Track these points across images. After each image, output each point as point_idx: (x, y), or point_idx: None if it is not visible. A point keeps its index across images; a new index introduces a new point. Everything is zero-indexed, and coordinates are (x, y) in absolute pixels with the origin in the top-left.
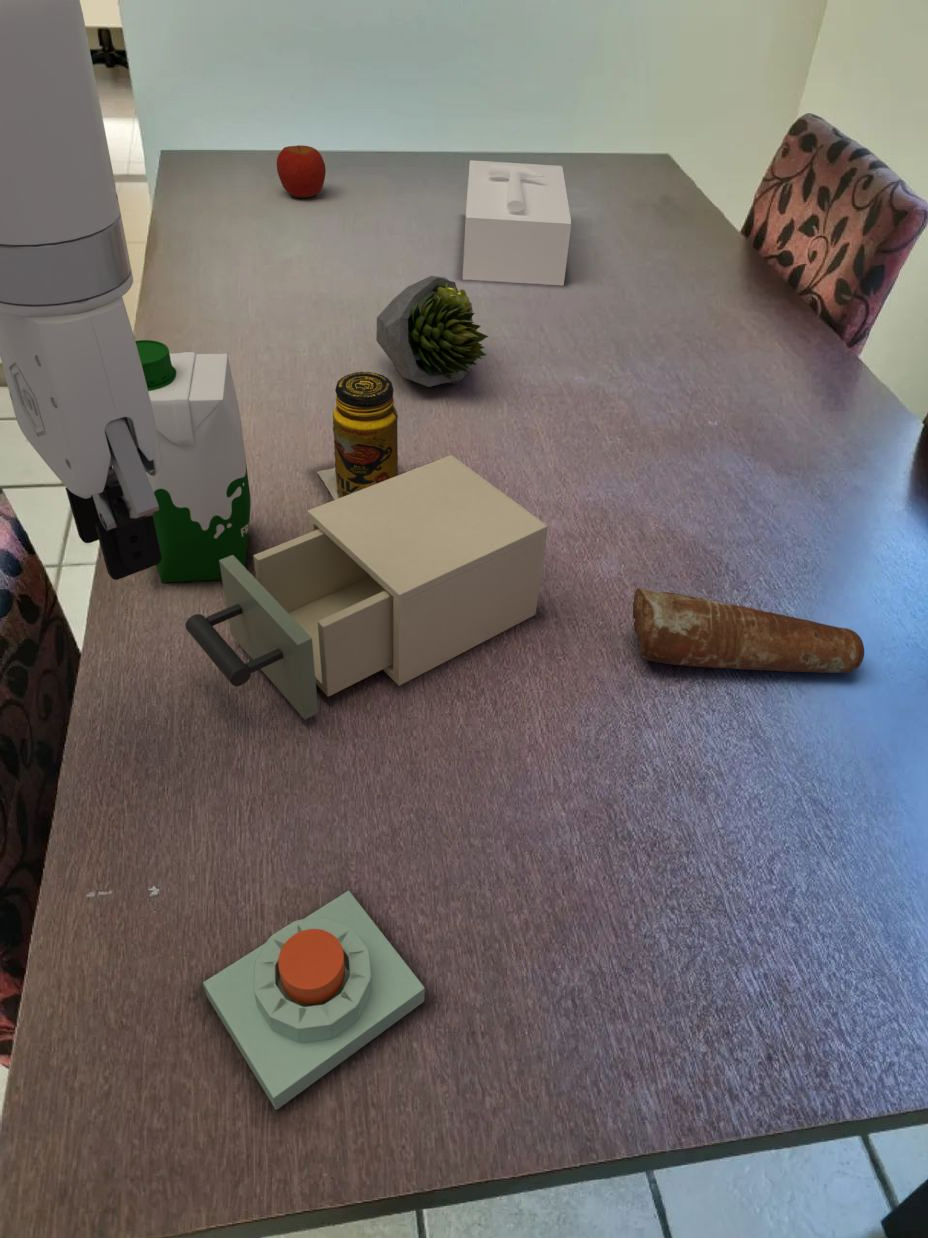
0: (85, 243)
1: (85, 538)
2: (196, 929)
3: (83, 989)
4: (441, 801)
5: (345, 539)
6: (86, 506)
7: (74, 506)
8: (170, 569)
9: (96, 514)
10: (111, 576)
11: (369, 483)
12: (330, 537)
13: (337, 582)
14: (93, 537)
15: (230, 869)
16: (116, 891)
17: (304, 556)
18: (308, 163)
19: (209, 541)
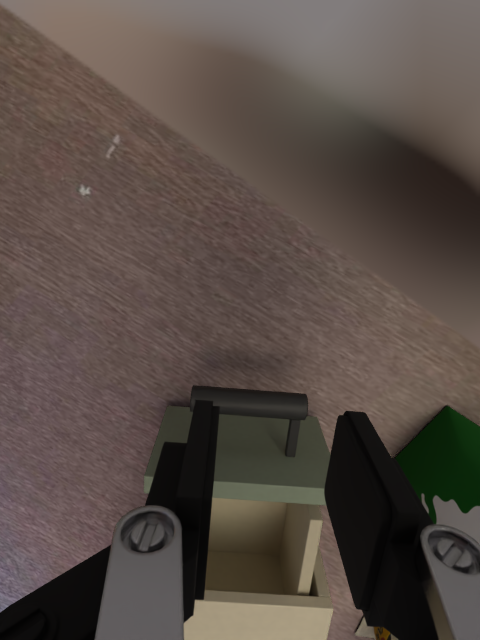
0: None
1: (341, 420)
2: (23, 199)
3: (21, 79)
4: (24, 434)
5: (254, 609)
6: (361, 494)
7: (376, 476)
8: (445, 424)
9: (350, 485)
10: (196, 402)
11: (389, 635)
12: (278, 596)
13: (285, 533)
14: (337, 432)
15: (65, 258)
16: (105, 161)
17: (297, 550)
18: None
19: (424, 485)
